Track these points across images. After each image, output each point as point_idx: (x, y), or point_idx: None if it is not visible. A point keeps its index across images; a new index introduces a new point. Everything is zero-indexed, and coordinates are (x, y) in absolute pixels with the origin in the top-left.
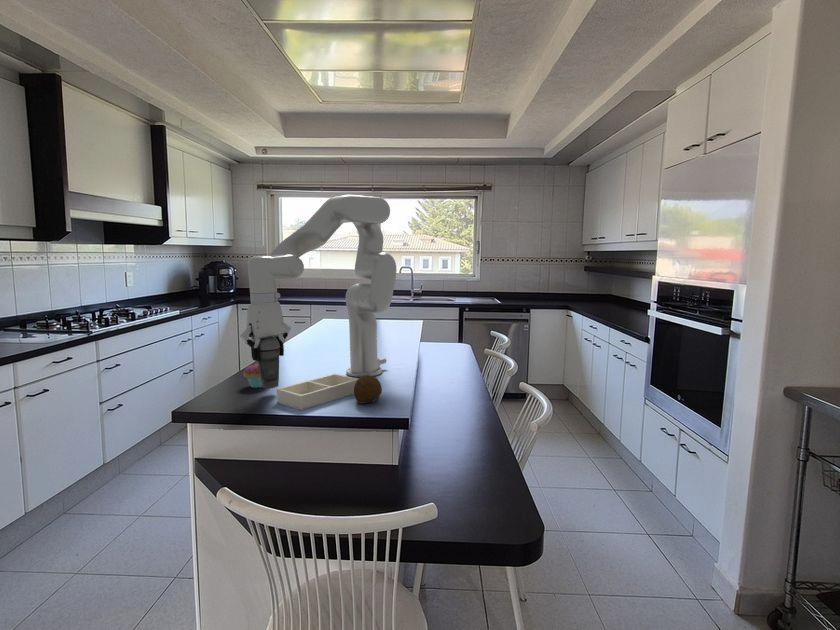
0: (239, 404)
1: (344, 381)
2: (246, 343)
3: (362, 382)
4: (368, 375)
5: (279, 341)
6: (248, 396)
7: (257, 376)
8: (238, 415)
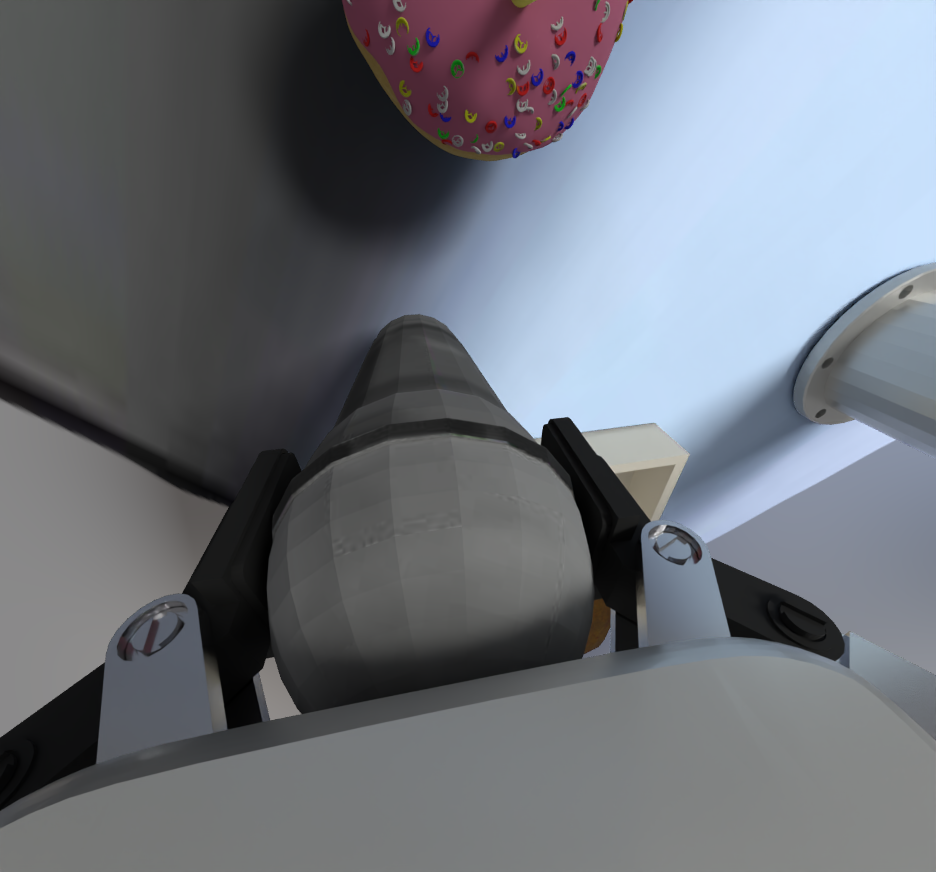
0: (218, 373)
1: (645, 493)
2: (23, 725)
3: None
4: (588, 651)
5: (603, 596)
6: (300, 268)
7: (423, 133)
8: (192, 494)
